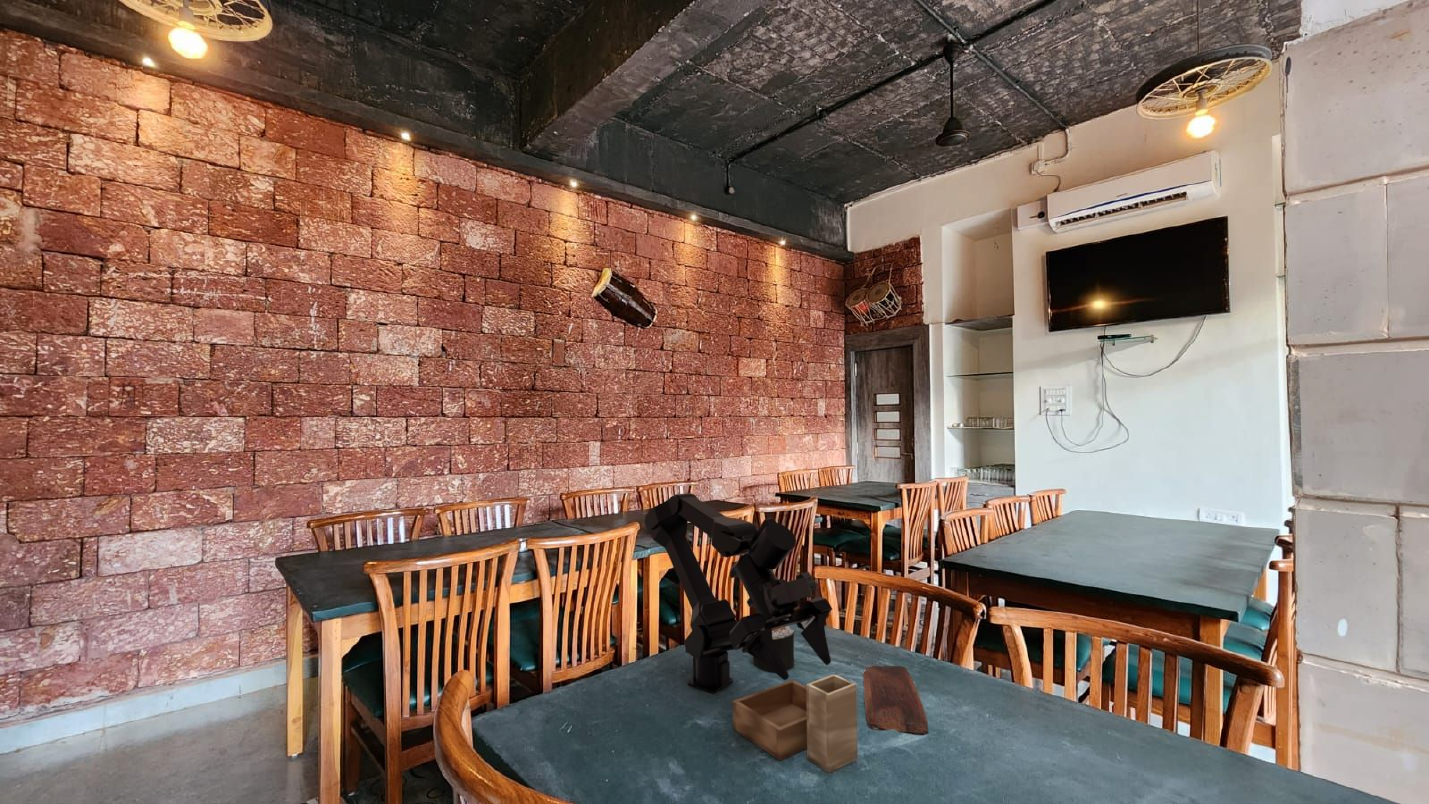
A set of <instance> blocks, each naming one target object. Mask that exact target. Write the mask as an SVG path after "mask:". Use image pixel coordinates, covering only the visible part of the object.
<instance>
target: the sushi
mask: <svg viewBox="0 0 1429 804" xmlns="http://www.w3.org/2000/svg"><path fill="white" fill-rule="evenodd" d="M794 633H795V630H794V629H791V628H790V625H789V626H786V627H782V628H779V629H775V630H772V638H773V643H774V645H775V647H776V649H777V651H778V653H779V655H780V657H781V659H782V661H783V663H784V665H785V667H786V670H787V671H789V670H791V669H793V668H794V667H795V649H794V647H795V645H794V643H795V641H794V640H795V636H794ZM752 663H753V666H754V667H755V668H757V669H759V670H762V671H764V672H766V673H770V674H776V673H775V672H773V671H772V670H771V669H770V668H768V667H767V666H766V665H765V664H763V663H762V662H761V661H759V660H758V659H756V658H755V657H753V656H752Z"/></svg>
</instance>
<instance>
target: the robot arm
mask: <svg viewBox="0 0 1429 804" xmlns="http://www.w3.org/2000/svg"><path fill="white" fill-rule="evenodd" d="M688 523H690V524H691V525H693V526H695V527H696V528H697V529H699V530H700V531H701V532H703V533H704V534H706V535H707V536H708V537H709V538H710V544H711V546H712V547H713V548H714V549H715V550H716V551H717V552H718V553H719V555H720V556H722V557H724V558H731V557H732V558H733V557H736V556H737V557H738V556H740V557H739V558H738V560H737V561H733V562H731V569H730V570H729V571H730V572H729V577H730V578H731V579H733V578H739V580H740V581H741V583H742V585H743V588H744V590H745V591H746V593H747V595H748V597H749V598H748V599H747V601H746V604H747V606H748V607H754V608H755V610H756V613H753V614H749V615H744V616H742V617H741V618H739V620H738V621H737V615H736V613H734V611H733V609H732V607H731V603H730V602H729V601H728V599H726V598H724V599H718V598H717V597H716V596H715V595H714V593H713V591H712V588H711V587H710V585H709V581H708V580H707V577H706V575H705V574H704V572H703V569H702V567H701V565H700V563H699V561H698V559H697V557H696V555H695V553H694V551H693V548H692V546H691V545H690V542H689V540H688V537H687V535H688V528H689V524H688ZM644 525H645V528H646V529H647V531H648V533H649V534H650V536H651V538H652V540H653V541H654V542H656V543H657V544H659V545H660V546H661V547H662V548H664V550H665V551H666V553H667V556H668V558H669V560H670V563H671V564H672V566H673V569H674V571H675V574H676V576H677V577H678V580H679V583H680V585H681V587H682V589H683V592H684V594H685V597H686V598H687V600H688V603H689V605H690V608H691V610H692V611H691V616H690V617H691V618H690V623H689V625H690V629H691V631H690V633H689V634H688V635H687V637H686V638H685V639H684V641H683V643H684V648H685V652H686V653H685V654H688V655H689V656H691V657H692V678H691V679H690V680H688V681H687V685H688V686H691V687H693V688H697V689H700V690H702V691H705V692H708V693H711V694H715V693H717V692H719V691H720V690H722V689H724V688H725V687H726V686H729V685H730V684H731V683H733V681H734V679H733V678H732V677H731V672H730V671H731V670H730V669H731V667H730V665H731V663H730V661H729V651H733V650H734V651H737V650H741V653H743V654H746V653H747V654H749V655H750V656H752V658H753V657H755V658H756V659H758V660H759V661H761V662H762V663H763V664H765V665H766V666H767V667H768V668H770V669H771V670H772V671H773V672H775V673H774V674H775V675H777V676H778V677H779V678H781V679H782V680H783V681H787V679H789V677H790V675H789V673H788V672H789V671H788V670H786V667H785V665H784V663H783V661H782V659H781V657H780V655H779V653H778V651H777V649H776V647H775V645H774V643H773V638H772V630H775V629H779V628H782V627H786V626H789V627H790V626H792V625H793V626H794V625H795V624H796V626H797V628H799V629H801V630H802V631H801V632H800V635H801V636H802V638H804V640H805V641H806V643H808V645H809V646H810V647H811V649H812V650H813V651H814V653H815V654H816V656H817V657H818V658H819V659H820V661H821V662H823V664H824V665H825V666H829V665H830V664H831V662H832V660H831V655H830V651H829V645H828V641H827V637H826V636H827V635H826V627H825V626H826V620H827V619H828V618H829V617H830V613H831V612H832V610H833V608H832V606H831V604H830V602H829V601H828V599H827V598H825V597H821V596H819V597H816V598H813V596H814V595H813V592H815V591H816V590H817V583H816V581H815V578H814V577H813V576H812V574H811V573H810V572H809V571H806V572H801V573H800V574H796V575H795V579H793V580H789V581H788V580H787V581H786V580H785V579H783V578H779V579H778V578H777V576H776V574H775V573H774V571H773V570H776V569H779V567H780V566H781V565H782V563H783V562H784V561H785V559H786V558H787V557H788V556H789V555H790V553H791V552H793V550H794V549H795V547H796V546H797V538H796V536H795V534H794V532H793V531H792V530H791V529H789V528H788V527H787V526H786V525H784V524H782V523H779V522H777V520H776V519H775V518H774V517H772V518H771V517H770V518H764V520H763V521H762V522H761V525H760V526H759V528H757V527H756V526H755V525H754V523H752V522H751V521H748V520H745V519H741V518H737V517H736V518H735V517H729V516H727V515H724V514H722V513H721V512H719V511H718V510H717V509H715V508H713V507H711V506H710V505H708V504H707V503H705V502H704V501H702V500H701V499H699V498H698V497H697V496H696V494H695V493H691V492H687V493H678V494H677V493H676V494H674V495H672V496H670V497H669V498H668V499H667V500H665V501H663V502H661V503H659V504H657V505H655V506H653V507H651V508H650V509H649V510H648V512H647V513H646V514H645V517H644ZM806 598H808V599H807V600H806V601H805V602H804V604H802V605H801V601H800V600H803V599H806ZM810 598H811V599H810ZM800 605H801V606H800ZM799 606H800V607H799ZM798 607H799V609H798V610H795V608H798Z"/></svg>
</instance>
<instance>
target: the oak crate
mask: <svg viewBox="0 0 1429 804" xmlns="http://www.w3.org/2000/svg"><path fill="white" fill-rule="evenodd" d="M732 730H733V731H735V732H736V733H738V734H740V735H741V736H743V737H744V738H746V739H747V740H748V741H750V742H751V743H753V744H754V745H756V746H757V747H758V748H760V749H762V750H763V751H764V752H766V753H768V755H770V756H772V757H773V758H775V759H776V760H777V761H779V762H781V761H783V760H785V759H787V758H790V757H791V756H794V755H796V754H798V753H800V752H802V751H803V752H804V751H805V750H807V691H806V685H803V684H801V683H799V682H797V681H796V680H794V679H791V680H789V681H785V682H783V683H780V684H777V685H774V686H771V687H769V688H766V689H763V690H760V691H758V692H755V693H752V694H748V695H746V696H744V697H741V698H738V699H735V700H732Z"/></svg>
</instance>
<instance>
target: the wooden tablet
mask: <svg viewBox="0 0 1429 804" xmlns="http://www.w3.org/2000/svg"><path fill="white" fill-rule="evenodd" d="M871 666H872V667H867V666H866V667H867V668H866V667H865V668H866V671H865V672H864V671H863V672H864V674H863V673H862V678H863V677H864V679H863V689H864V691H863V692H864V693H863V694H864V695H863V696H864V707H865V710H864V711H865V718H866V722H867V725H868V727H869V728H870V729H871V730H875V731H895V730H896V731H895V732H899V733H903V734H907V735H917V736H918V735H919V736H920V735H921V736H922V735H925V734H927V732H928V731H929V728H928V719H927V716H926V715H927V714H926V712H925V711H926V710H925V708H924V706H923V702H922V699H921V697H920V695H919V692H918V690H917V688H916V685H915V683H914V681H913V678H912V676H911V674H910V671H909V670H908V669H907V668H906V667H905V666H902V665H871ZM890 729H891V730H890ZM892 729H894V730H892Z"/></svg>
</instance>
